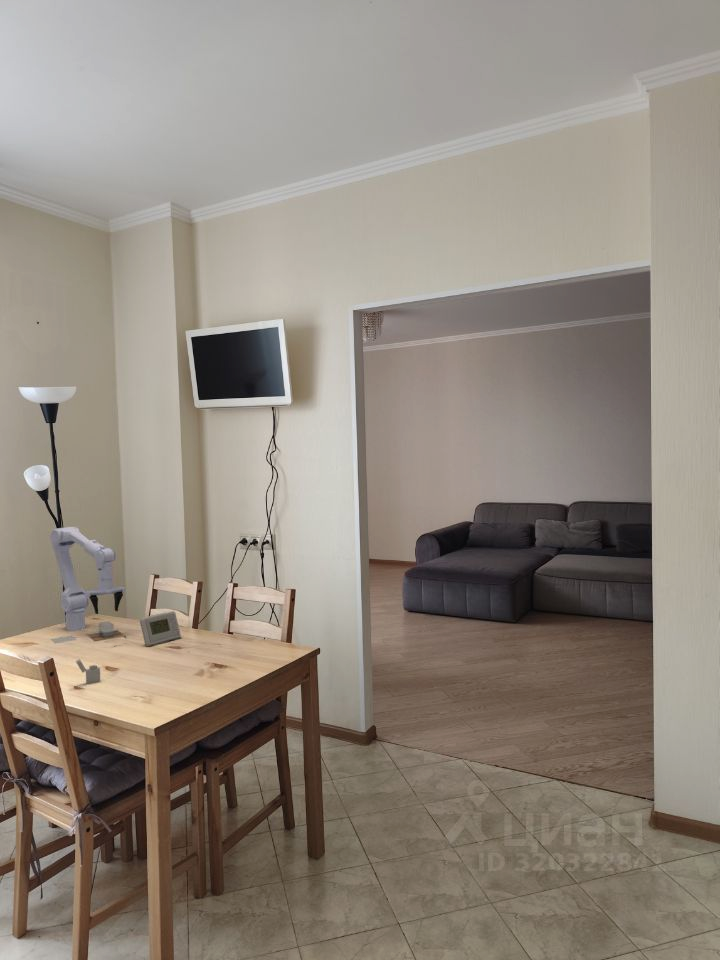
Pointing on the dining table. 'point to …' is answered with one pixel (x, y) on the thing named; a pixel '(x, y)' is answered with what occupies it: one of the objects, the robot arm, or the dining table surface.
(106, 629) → the housing
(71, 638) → the grey stand
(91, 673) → the lighter
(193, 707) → the dining table surface
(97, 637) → the walnut stand
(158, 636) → the digital clock
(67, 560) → the robot arm
